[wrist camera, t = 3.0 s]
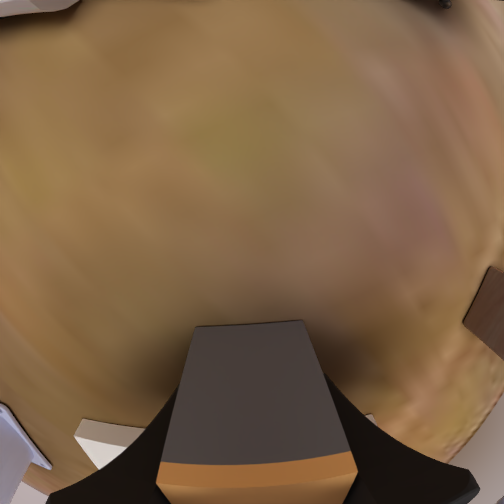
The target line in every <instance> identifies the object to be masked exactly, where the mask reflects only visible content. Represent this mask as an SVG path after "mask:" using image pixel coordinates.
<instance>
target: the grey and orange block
mask: <svg viewBox="0 0 504 504" xmlns="http://www.w3.org/2000/svg"><path fill="white" fill-rule="evenodd" d="M357 473H358V470H357V467H356V464H355V461H354V458H353V456H352V453H351V450H350V447H349V444H348V441H347V438H346V436H345V433H344V430H343V427H342V424H341V422H340V419H339V416H338V413H337V410H336V408H335V405H334V402H333V399H332V397H331V394H330V391H329V389H328V386H327V383H326V380H325V378H324V375H323V372H322V370H321V367H320V364H319V362H318V359H317V356H316V354H315V351H314V348H313V346H312V343H311V341H310V338H309V335H308V333H307V330H306V327H305V325H304V322H303V320H300V321H289V322H278V323H265V324H251V325H234V326H213V327H195V330H194V333H193V337H192V341H191V344H190V348H189V351H188V355H187V359H186V363H185V366H184V370H183V374H182V378H181V381H180V385H179V389H178V393H177V397H176V401H175V405H174V408H173V412H172V416H171V421H170V425H169V429H168V433H167V437H166V441H165V445H164V450H163V454H162V458H161V463H160V467H159V471H158V476H157V480H156V484H157V485H158V487H159V488H160V489H161V491H162V492H163V493H164V495H165V496H166V498H167V499H168V500H169V501H170V503H171V504H342V503H343V501H344V500H345V498H346V496H347V494H348V492H349V490H350V488H351V486H352V484H353V482H354V479H355V477H356V475H357Z"/></svg>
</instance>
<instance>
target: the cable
mask: <svg viewBox="0 0 504 504" xmlns="http://www.w3.org/2000/svg"><path fill="white" fill-rule="evenodd" d="M77 1H79V0H0V19H2V18H6V17H9V16H11V15H19V14H27V13H38V12H54V11H58V10H62V9H66V8H68V7H70V6H71V5H73V4H74V3H76V2H77Z"/></svg>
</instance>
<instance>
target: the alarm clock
mask: <svg viewBox="0 0 504 504" xmlns="http://www.w3.org/2000/svg"><path fill="white" fill-rule="evenodd" d="M501 1H504V0H501ZM439 4H440V6H441V7H443V8H445V9H448V8H450V7H451V6H452V4H451V1H450V0H439Z"/></svg>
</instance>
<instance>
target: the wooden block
mask: <svg viewBox="0 0 504 504" xmlns="http://www.w3.org/2000/svg"><path fill="white" fill-rule="evenodd" d="M463 324H464V325H465V327H466V328H467V329H469V330H470V331H471V332H472V333H473V334H474V335H476V336H477V337H478V338H479V339H480V340H481V341H483V342H484V343H485V344H486V345H487V346H488V347H489V348H491V349H492V350H493V351H494V352H495V353H496V354H497V355H498V356H499V357H501V358H502V359H503V360H504V272H503V271H501V270H499V269H497V268H495V267H490V268H489V270H488V272H487V274H486V277H485V279H484V281H483V283H482V286H481V288H480V290H479V292H478V294H477V296H476V298H475V300H474V302H473V304H472V306H471V308H470V310H469V312H468V314H467V316H466V318H465V320H464V323H463Z"/></svg>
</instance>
